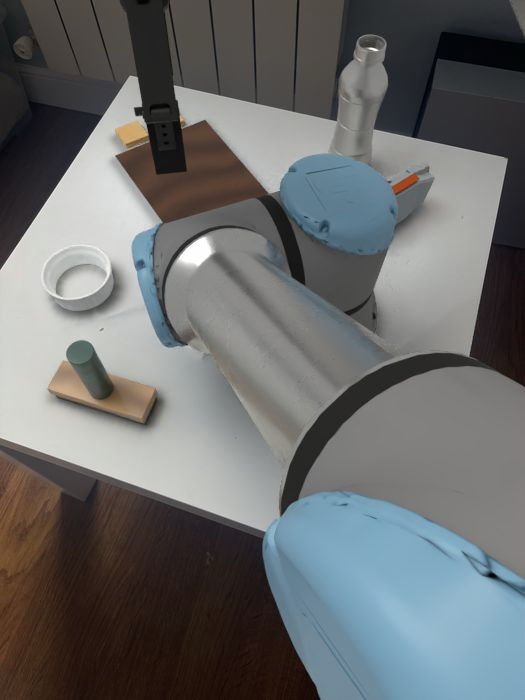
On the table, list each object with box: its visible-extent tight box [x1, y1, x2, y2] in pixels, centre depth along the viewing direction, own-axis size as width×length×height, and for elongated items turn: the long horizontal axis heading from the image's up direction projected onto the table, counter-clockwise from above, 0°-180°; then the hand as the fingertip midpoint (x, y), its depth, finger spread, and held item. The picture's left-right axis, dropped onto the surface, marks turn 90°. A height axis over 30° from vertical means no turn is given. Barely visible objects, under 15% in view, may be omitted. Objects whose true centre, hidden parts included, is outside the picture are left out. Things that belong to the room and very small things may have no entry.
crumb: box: [114, 120, 150, 149], centre depth 85 cm, size 4×4×2 cm
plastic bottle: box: [327, 34, 389, 166], centre depth 75 cm, size 6×7×20 cm
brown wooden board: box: [114, 119, 270, 223], centre depth 81 cm, size 22×16×1 cm
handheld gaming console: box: [386, 162, 436, 226], centre depth 75 cm, size 14×3×8 cm, turn 128°
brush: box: [46, 339, 158, 425], centre depth 60 cm, size 4×12×12 cm, turn 72°
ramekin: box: [40, 243, 115, 312], centre depth 70 cm, size 9×9×4 cm
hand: (165, 119), depth 51 cm, fingers open, 13 cm apart
